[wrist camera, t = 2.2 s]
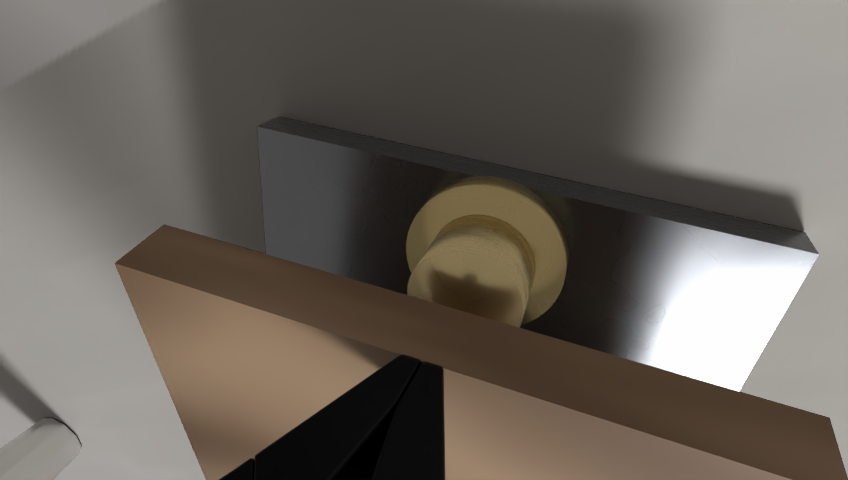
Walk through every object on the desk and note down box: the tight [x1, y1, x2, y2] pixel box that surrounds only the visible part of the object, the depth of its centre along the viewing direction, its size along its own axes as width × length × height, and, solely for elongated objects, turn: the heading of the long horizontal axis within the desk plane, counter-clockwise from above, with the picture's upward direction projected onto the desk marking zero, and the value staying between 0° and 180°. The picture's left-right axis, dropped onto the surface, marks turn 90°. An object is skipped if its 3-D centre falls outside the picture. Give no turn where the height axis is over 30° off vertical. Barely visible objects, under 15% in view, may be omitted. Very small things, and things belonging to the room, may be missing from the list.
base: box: [257, 117, 819, 391], centre depth 18 cm, size 16×16×4 cm
